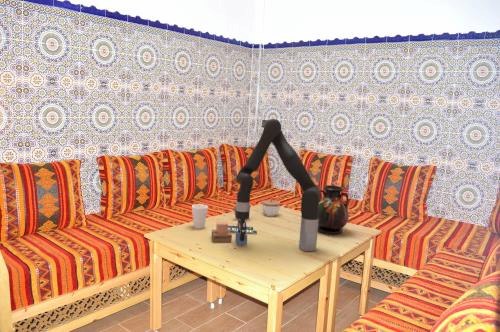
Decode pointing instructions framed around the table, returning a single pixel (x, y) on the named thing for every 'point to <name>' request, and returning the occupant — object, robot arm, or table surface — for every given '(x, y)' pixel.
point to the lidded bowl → (270, 207)
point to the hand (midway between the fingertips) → (240, 238)
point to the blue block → (239, 239)
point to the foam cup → (199, 215)
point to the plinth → (221, 237)
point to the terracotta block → (221, 227)
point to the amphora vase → (332, 211)
